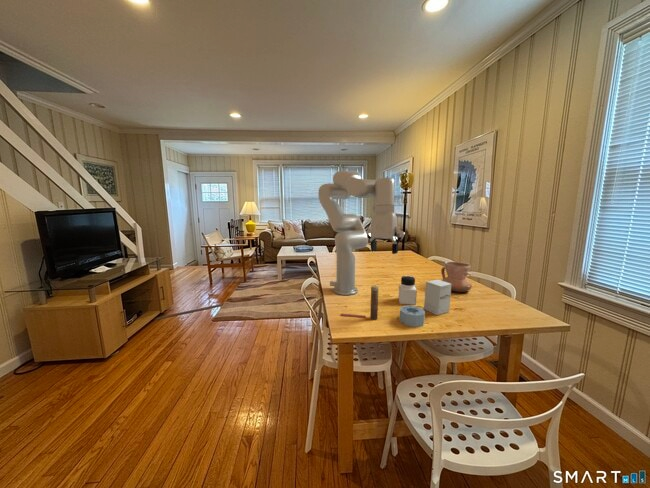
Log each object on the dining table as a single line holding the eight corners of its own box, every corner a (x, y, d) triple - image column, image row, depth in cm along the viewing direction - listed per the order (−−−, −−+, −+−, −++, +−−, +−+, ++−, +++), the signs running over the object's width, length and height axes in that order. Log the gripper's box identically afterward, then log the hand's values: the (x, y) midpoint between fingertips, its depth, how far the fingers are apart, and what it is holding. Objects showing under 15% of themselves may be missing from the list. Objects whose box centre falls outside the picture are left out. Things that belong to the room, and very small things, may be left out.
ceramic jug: (480, 293, 129) (482, 265, 127) (458, 296, 124) (460, 268, 122) (451, 283, 146) (453, 259, 144) (431, 286, 141) (433, 261, 139)
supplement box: (437, 315, 104) (440, 286, 102) (423, 309, 110) (425, 281, 108) (449, 312, 107) (452, 283, 105) (435, 306, 113) (437, 278, 111)
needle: (369, 318, 101) (370, 287, 99) (371, 316, 103) (372, 285, 101) (376, 320, 100) (377, 288, 98) (378, 317, 102) (379, 286, 100)
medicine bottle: (416, 305, 115) (417, 279, 113) (399, 303, 116) (400, 278, 114) (413, 299, 121) (415, 275, 120) (398, 298, 123) (399, 274, 121)
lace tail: (341, 315, 104) (341, 314, 104) (341, 314, 105) (341, 313, 105) (365, 317, 102) (365, 316, 102) (365, 316, 103) (365, 315, 103)
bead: (398, 323, 97) (398, 312, 96) (402, 314, 105) (402, 304, 104) (422, 328, 93) (423, 316, 92) (424, 318, 101) (425, 308, 100)
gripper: (361, 210, 104) (361, 251, 106) (400, 209, 92) (399, 255, 94) (371, 210, 109) (371, 249, 112) (409, 209, 98) (408, 253, 100)
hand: (383, 252), depth 103 cm, fingers open, 9 cm apart
